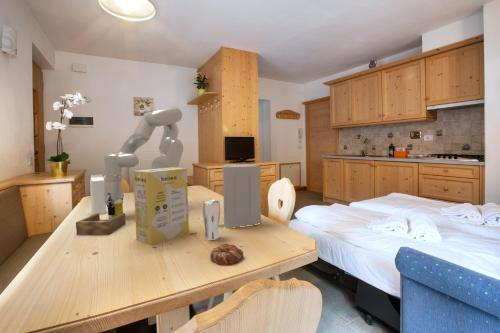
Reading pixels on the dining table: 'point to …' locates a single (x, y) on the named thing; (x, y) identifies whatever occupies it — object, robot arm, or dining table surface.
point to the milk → (97, 194)
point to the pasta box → (160, 204)
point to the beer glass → (211, 219)
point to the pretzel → (226, 254)
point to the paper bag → (241, 195)
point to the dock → (99, 225)
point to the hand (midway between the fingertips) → (115, 212)
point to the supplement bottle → (117, 208)
